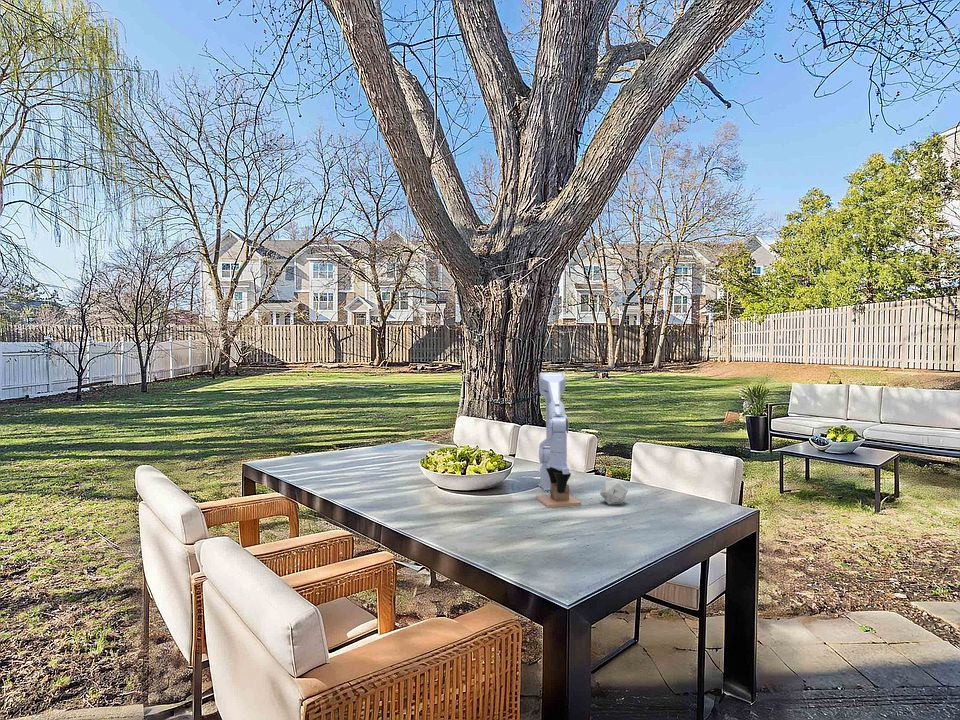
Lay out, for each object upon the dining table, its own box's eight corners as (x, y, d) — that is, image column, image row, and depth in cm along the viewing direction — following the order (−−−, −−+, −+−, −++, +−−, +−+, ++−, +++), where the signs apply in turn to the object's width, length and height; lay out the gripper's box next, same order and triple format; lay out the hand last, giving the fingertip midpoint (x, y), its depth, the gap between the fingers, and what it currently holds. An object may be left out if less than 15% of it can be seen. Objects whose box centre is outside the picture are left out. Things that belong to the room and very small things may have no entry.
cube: (550, 497, 203) (550, 483, 203) (563, 496, 204) (563, 482, 204) (555, 501, 198) (555, 486, 198) (569, 500, 200) (569, 485, 199)
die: (595, 504, 200) (603, 486, 194) (601, 487, 207) (609, 469, 201) (618, 514, 198) (626, 496, 193) (623, 497, 205) (632, 479, 199)
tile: (536, 498, 206) (536, 495, 206) (567, 496, 209) (567, 493, 209) (547, 507, 194) (547, 504, 194) (581, 505, 197) (581, 502, 197)
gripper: (540, 448, 207) (540, 486, 207) (555, 456, 193) (554, 496, 193) (558, 447, 209) (558, 485, 209) (574, 455, 195) (574, 495, 195)
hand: (558, 490), depth 201 cm, fingers open, 5 cm apart
